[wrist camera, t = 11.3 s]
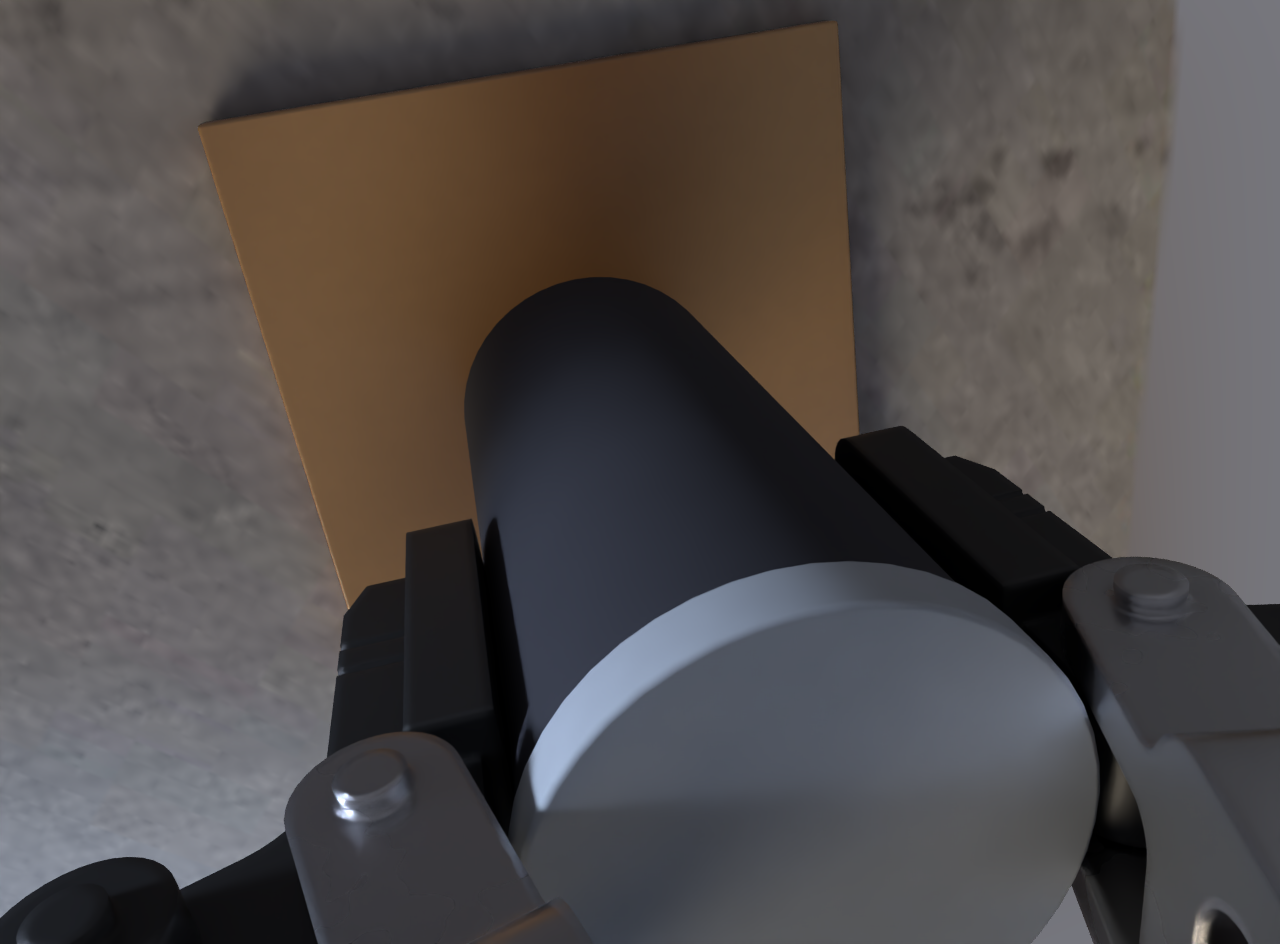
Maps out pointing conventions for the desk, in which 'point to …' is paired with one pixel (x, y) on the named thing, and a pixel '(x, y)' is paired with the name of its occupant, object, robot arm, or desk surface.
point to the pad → (533, 248)
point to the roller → (745, 661)
